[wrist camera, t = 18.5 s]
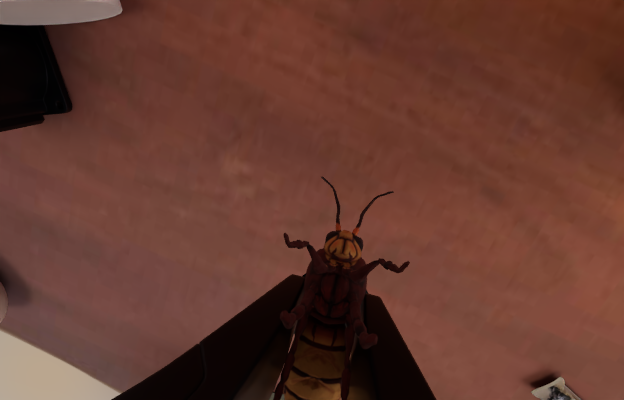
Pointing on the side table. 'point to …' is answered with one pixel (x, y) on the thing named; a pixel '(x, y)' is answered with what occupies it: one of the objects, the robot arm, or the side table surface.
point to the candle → (56, 11)
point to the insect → (328, 316)
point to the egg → (3, 302)
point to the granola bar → (555, 391)
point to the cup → (273, 397)
